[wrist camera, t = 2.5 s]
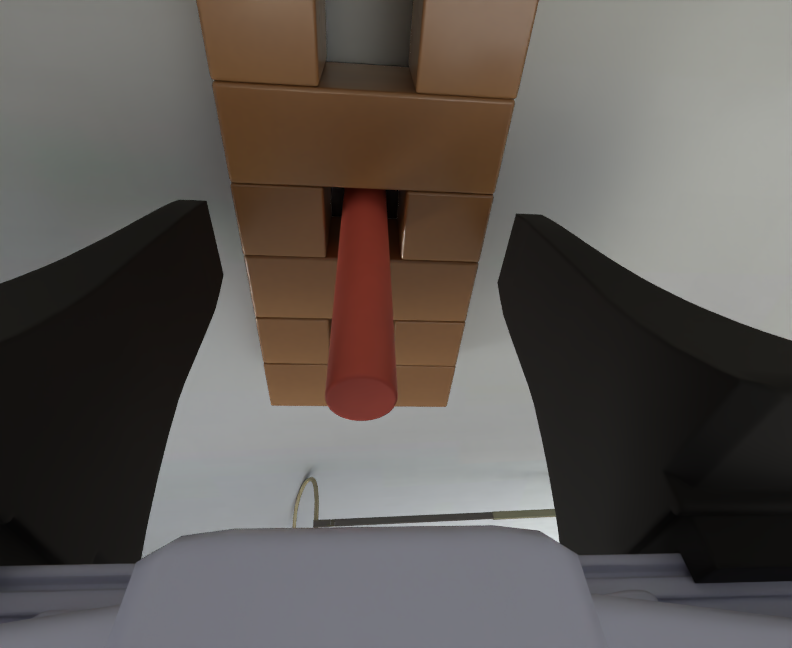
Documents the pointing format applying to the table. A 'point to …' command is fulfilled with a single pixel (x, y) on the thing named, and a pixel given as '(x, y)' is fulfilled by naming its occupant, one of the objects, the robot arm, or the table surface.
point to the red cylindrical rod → (362, 313)
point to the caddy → (363, 171)
